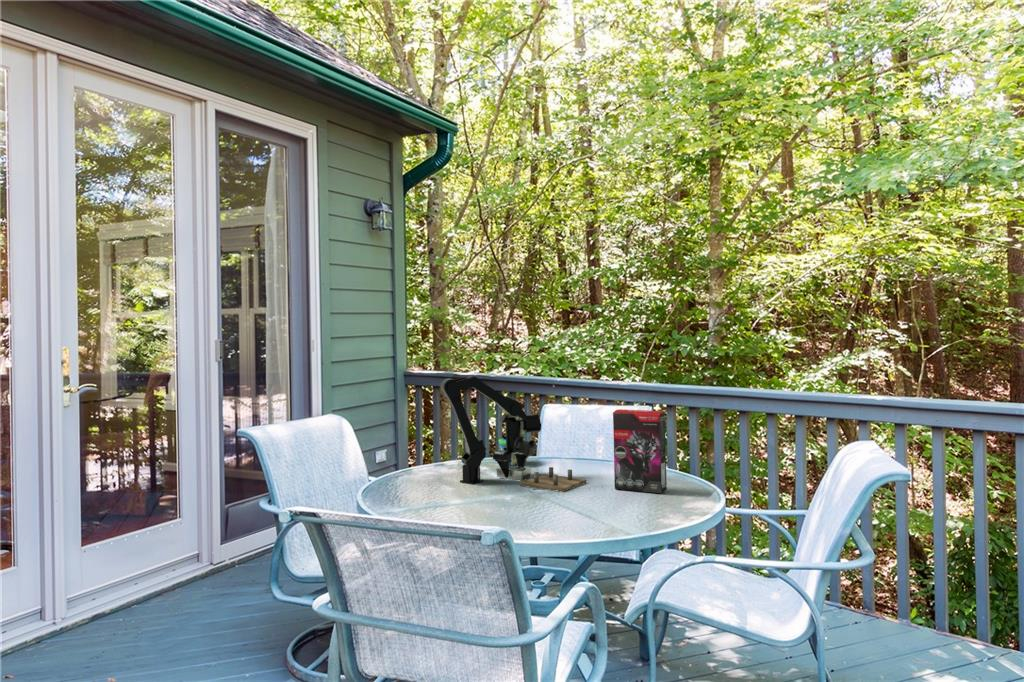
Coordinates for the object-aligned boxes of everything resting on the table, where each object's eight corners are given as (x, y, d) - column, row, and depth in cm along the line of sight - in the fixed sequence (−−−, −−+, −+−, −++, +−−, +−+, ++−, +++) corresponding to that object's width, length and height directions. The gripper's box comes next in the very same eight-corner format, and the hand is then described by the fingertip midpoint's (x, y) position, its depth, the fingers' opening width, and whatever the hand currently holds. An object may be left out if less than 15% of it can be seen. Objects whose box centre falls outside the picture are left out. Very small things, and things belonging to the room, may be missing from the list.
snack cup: (532, 465, 289) (532, 440, 289) (509, 468, 284) (509, 443, 284) (514, 459, 303) (514, 435, 303) (492, 462, 298) (491, 437, 298)
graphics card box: (612, 490, 246) (611, 410, 245) (619, 485, 252) (618, 408, 251) (661, 494, 238) (660, 413, 237) (667, 490, 244) (666, 410, 243)
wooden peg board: (563, 491, 244) (562, 478, 244) (520, 485, 255) (519, 472, 255) (586, 482, 257) (586, 469, 257) (544, 477, 268) (544, 464, 268)
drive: (522, 482, 262) (522, 471, 261) (497, 479, 268) (496, 468, 268) (532, 478, 267) (531, 467, 267) (506, 475, 273) (506, 464, 273)
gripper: (516, 439, 255) (517, 482, 255) (545, 431, 270) (545, 472, 270) (491, 436, 261) (492, 479, 262) (520, 429, 276) (521, 469, 277)
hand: (514, 475), depth 267 cm, fingers open, 9 cm apart
